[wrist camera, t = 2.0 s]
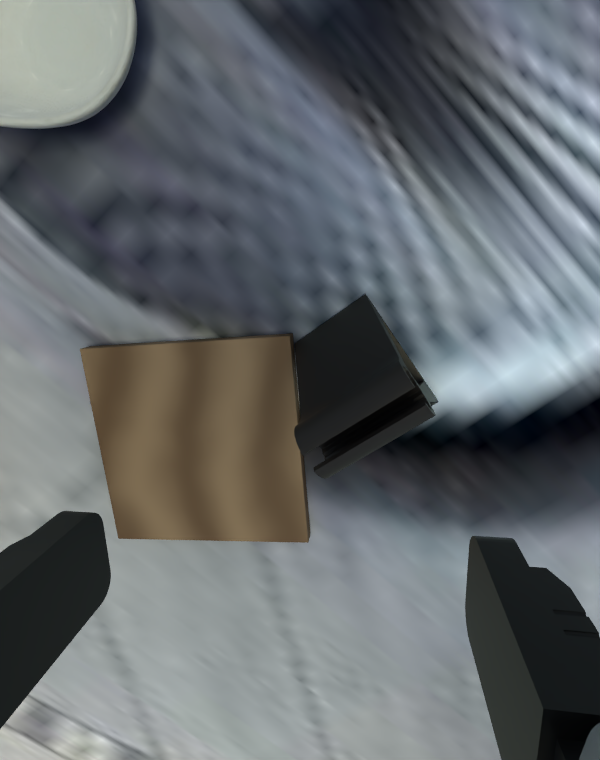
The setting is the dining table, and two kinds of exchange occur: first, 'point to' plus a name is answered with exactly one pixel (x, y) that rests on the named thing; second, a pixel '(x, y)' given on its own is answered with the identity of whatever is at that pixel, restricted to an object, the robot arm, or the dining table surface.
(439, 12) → the dining table surface
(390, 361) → the phone stand
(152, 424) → the walnut board
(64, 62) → the spoon rest
